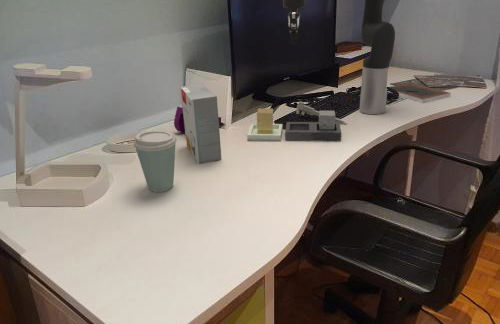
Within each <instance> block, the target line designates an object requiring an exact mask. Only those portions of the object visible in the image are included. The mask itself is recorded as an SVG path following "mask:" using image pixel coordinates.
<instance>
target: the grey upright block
mask: <svg viewBox="0 0 500 324" xmlns="http://www.w3.org/2000/svg"><path fill="white" fill-rule="evenodd" d="M335 118H336V112H335V110H319V116H318V122H319V131H335Z"/></svg>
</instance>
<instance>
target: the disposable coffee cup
mask: <svg viewBox="0 0 500 324" xmlns="http://www.w3.org/2000/svg"><path fill="white" fill-rule="evenodd" d="M176 145H177V137H176V135H174V134H173V133H172V132H171V131H166V130H162V129H161V130H160V129H159V130H158V129H157V130H155V129H154V130H146V131H142V132H139V133H137V134H136V135H135V137H134V141H133V147H134V149H135V151H136V153H137V156H138V160H139V164H140V166H141V167H140V168H141V170H142V173H143V175H144V179H145V182H146V185H147V187H148V188H149V190H150V191H151V192H154V193H164V192H166V191H169V190H170V189H172V188H173V185H174V181H175V180H174V179H175V160H176Z"/></svg>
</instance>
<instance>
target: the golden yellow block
mask: <svg viewBox="0 0 500 324" xmlns="http://www.w3.org/2000/svg"><path fill="white" fill-rule="evenodd" d="M256 124H257V134H273V124H274V108H258V109H257V112H256Z"/></svg>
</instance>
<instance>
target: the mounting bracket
mask: <svg viewBox="0 0 500 324" xmlns="http://www.w3.org/2000/svg"><path fill="white" fill-rule="evenodd" d="M221 118H222V117H220V116H218V119H219V124H221ZM173 125H174V128H175V130H176V131H177V132H179V133H183V134H185V125H184V116H183V107H182V106H181V107H180V106H176V111H175V114H174V120H173Z"/></svg>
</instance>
